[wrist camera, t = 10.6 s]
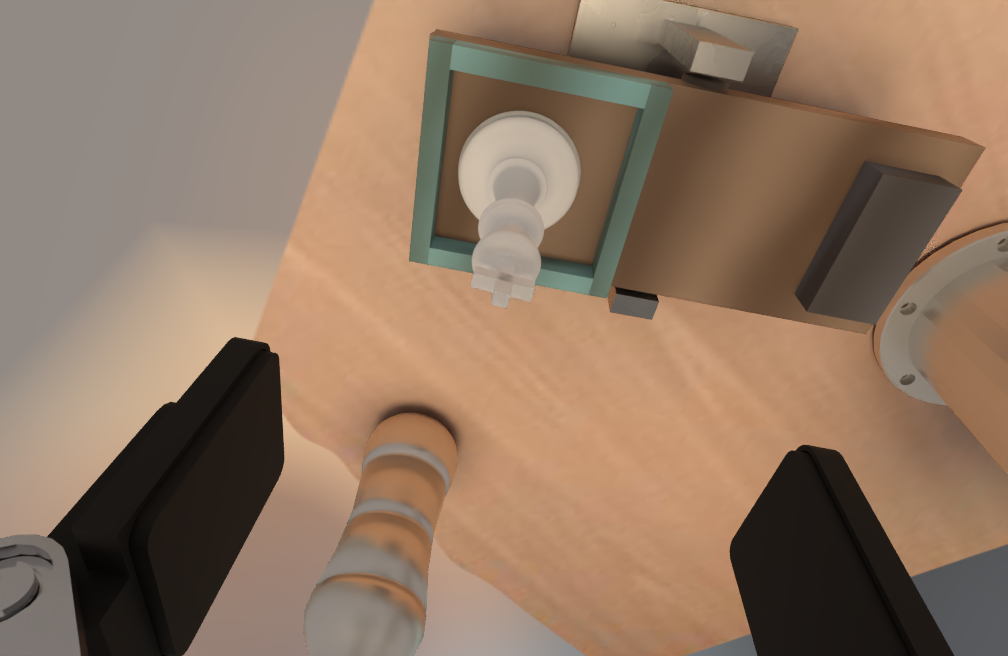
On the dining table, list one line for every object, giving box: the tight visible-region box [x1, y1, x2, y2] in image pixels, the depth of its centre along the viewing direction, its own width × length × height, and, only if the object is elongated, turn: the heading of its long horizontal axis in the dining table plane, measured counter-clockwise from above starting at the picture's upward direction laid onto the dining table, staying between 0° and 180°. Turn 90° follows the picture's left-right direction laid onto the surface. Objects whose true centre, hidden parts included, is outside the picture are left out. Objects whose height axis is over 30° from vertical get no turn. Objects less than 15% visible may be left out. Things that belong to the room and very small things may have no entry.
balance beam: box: [409, 29, 985, 334], centre depth 24 cm, size 21×9×4 cm, turn 80°
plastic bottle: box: [303, 413, 457, 656], centre depth 35 cm, size 6×7×20 cm
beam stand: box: [568, 0, 798, 320], centre depth 27 cm, size 10×13×8 cm
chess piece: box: [458, 111, 581, 309], centre depth 19 cm, size 5×5×10 cm
